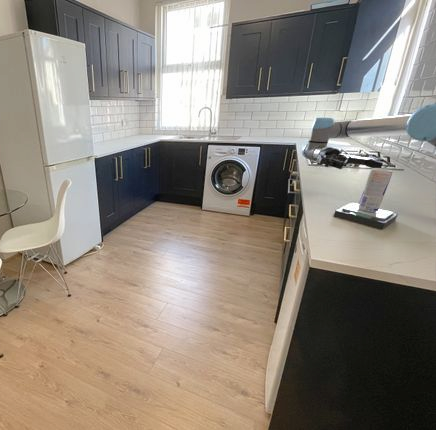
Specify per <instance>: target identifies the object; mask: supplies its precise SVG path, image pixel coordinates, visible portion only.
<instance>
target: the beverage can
mask: <svg viewBox="0 0 436 430" xmlns="http://www.w3.org/2000/svg"><path fill="white" fill-rule="evenodd" d="M393 172H394V170H392V169H388V168H382V167H381V168H370V171H369V174H368V177H367V180H366V183H365V186H364V189H363V191H362V193H361V197H360V200H359V203H358V204H359V205H358V208H359V209H360V210H363V211H366V212H377V211H378V210H379V209H380V207H381V205H382V202H383V199H384V197H385V195H386V191H387V189H388V186H389V183H390V181H391V179H392V176H393Z"/></svg>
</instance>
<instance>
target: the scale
mask: <svg viewBox="0 0 436 430" xmlns="http://www.w3.org/2000/svg"><path fill="white" fill-rule="evenodd" d="M358 205H359V203H355V202H352V203H351V202H350V203H348V204H346V205H344V206H341V207H339V208H338V209H336V210H334V213H333V217H334V218H336V217H337V219H341V220H344V221H347V220H348V222H351V223H354V224H355V223H356V224H358V225H362V226H366V227H369V228H372V229H373V228H374V229H377V230H381V231H383V230H385V229H386V228H387V227H389V226H391V224H393V223H394V222H395V221H396V220H397V218H398V215H399V214H398V213H395V212H394V211H389V210H385V209H381V208H379V210H378V211H377V212H366V211H363V210H360V209H359V208H358Z"/></svg>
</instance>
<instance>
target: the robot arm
mask: <svg viewBox="0 0 436 430" xmlns="http://www.w3.org/2000/svg"><path fill="white" fill-rule="evenodd" d="M407 135H408V136H409V137H410V138H411V139H413V140H415V141H418V142H427V143H428V144H430V145H432V146H433V147H435V148H436V103H431V104H427V105H424V106H421V107H420V108H419V109H417V110H415V111H414V112H413V113H412V114H404V115H394V116H384V117H374V118H373V117H372V118H363V119H353V120H343V121H341V120H340V121H335V119H334V118H333V117H316V118H314V119H313V122H312V126H311V129H310V134H309V138H308V142H307V143H306V144H305V145H304V146H303V147H302V149H301V155H302V156H303V157H304V158H305V159H307V160H309V161H313V162H316V163H318V164H319V165H320V166H323V165H324V167H325V168H328V167H333V168H335V169H338V170H342V169H343V166H344V165H349V164H353V165H358V166H359V165H360V166H365V167H367V168H370V169H372V168H382V167H383V164H384V162H381V161H378V160H377V159H376V158H374V157H363V156H362V157H361V156H357V155H352V154H344V153H342V152H341V149H339V148H335V147H331V146H327V145H328V143H329V140H330V139H346V138H347V139H348V138H363V137H365V138H367V137H386V136H407Z"/></svg>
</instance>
